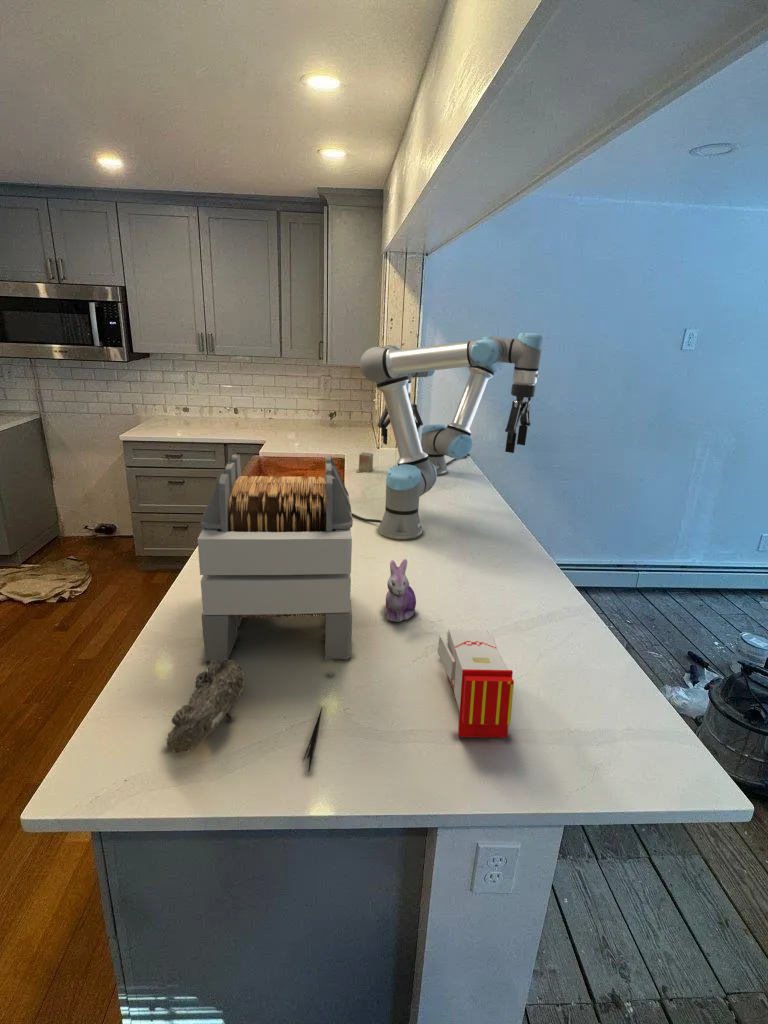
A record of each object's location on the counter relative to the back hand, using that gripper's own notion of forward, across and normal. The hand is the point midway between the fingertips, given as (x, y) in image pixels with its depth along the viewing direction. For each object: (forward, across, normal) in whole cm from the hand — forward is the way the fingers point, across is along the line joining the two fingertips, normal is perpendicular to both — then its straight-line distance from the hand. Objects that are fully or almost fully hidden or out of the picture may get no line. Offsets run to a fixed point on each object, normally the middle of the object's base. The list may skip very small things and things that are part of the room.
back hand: (399, 442), depth 243 cm
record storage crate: (+19, -74, -95) cm, 122 cm away
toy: (+19, -43, -134) cm, 142 cm away
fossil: (+18, -94, -124) cm, 157 cm away
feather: (+19, -75, -132) cm, 153 cm away
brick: (+21, -3, +31) cm, 37 cm away
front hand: (-12, +13, -64) cm, 67 cm away
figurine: (+19, -44, -100) cm, 111 cm away
